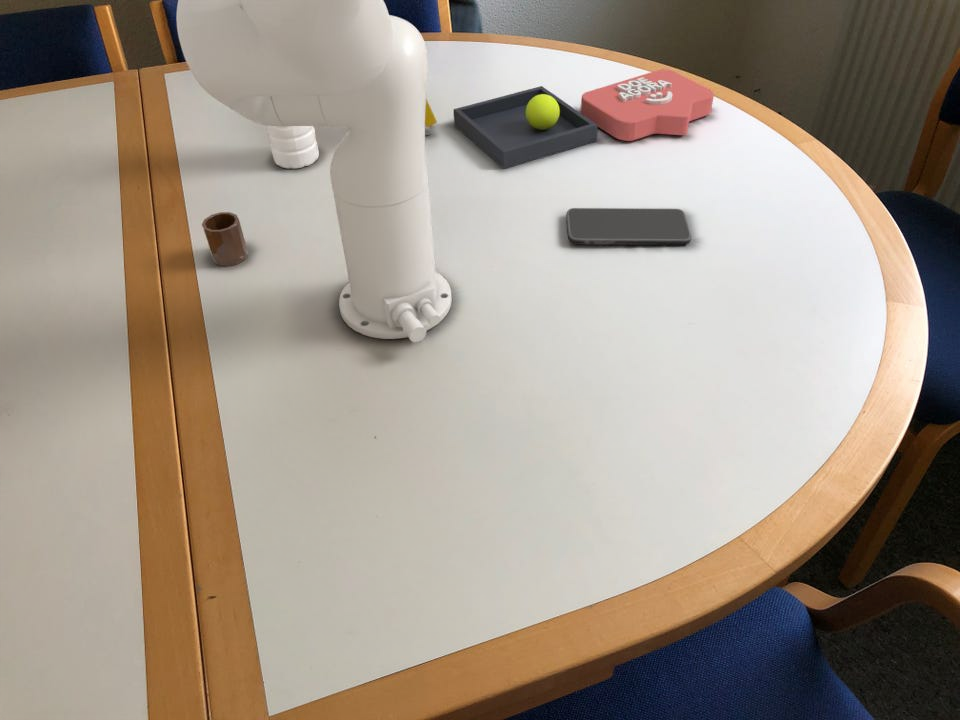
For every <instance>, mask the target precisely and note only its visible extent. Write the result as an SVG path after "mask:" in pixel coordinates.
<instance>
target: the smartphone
mask: <svg viewBox="0 0 960 720" xmlns="http://www.w3.org/2000/svg"><path fill="white" fill-rule="evenodd" d="M565 215H566V216H565V217H566V225H567V226H566V227H567V239H568V241H569V242H570V243H572V244H574V245H658V246H659V245H661V246H662V245H664V246H665V245H669V246H670V245H673V246H674V245H679V246H680V245H682V246H684V245H688V244H690V242H691V240H692V234H691V231H690V227H689V223H688V219H687V217H686V213H685V211H684V210H683V209H680V208H635V207H634V208H630V207H629V208H628V207H627V208H623V207H620V208H618V207H617V208H616V207H615V208H614V207H613V208H612V207H611V208H607V207H606V208H605V207H604V208H603V207H572V208H569V209H568V210H567V211H566V214H565Z"/></svg>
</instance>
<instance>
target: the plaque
mask: <svg viewBox="0 0 960 720" xmlns="http://www.w3.org/2000/svg"><path fill="white" fill-rule="evenodd" d="M714 97H715V92H714V91H713V90H712V89H711V88H708V87H706V86H704V85H702V84H700V83H699V82H696V81H694V80H692V79H690V78H688V77H686V76H684V75H682V74H680V73H678V72H677V71H674V70H671V69H657V70H654V71H651V72H648V73H643V74H641V75H638V76H634V77H631V78H628V79H625V80H621V81H618V82H614V83H611V84H608V85H605V86H601V87H598V88H595V89H592V90H588V91H586V92H584V93H583V94H582V95H581V101H580V113H581V114H583V115H584V116H585V117H587V118H588V119H590V120H591V121H593V122H594V123H596V124H597V125H598V128H599V129H600V130H602V131H604V132H605V133H607V134H609V135H610V136H612V137H614V138H616V139H618V140H620V141H625V142H632V141H635V140H639V139H642V138H645V137H648V136H651V135H654V134H657V135H658V134H659V135H673V136H685V135H687V134H688V132H689V125H690V122H692V121H694V120H698V119H700V118H704V117H706V116H709V115H710V114H711V113H712V109H713V108H712V107H713V102H714Z"/></svg>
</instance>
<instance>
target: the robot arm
mask: <svg viewBox="0 0 960 720" xmlns="http://www.w3.org/2000/svg"><path fill="white" fill-rule="evenodd" d="M176 29H177V37H178V41H179V44H180V48H181V51H182V54H183V58H184V60H185V63H186V64H187V66H188V69H189V70H190V72H191V74H192V76H193V77H194V79H195V80H196V82H197V83H198V85H199V86H200V87H201V88H202V89H203V90H204V91H205V92H206V93H207V94H208V95H209V96H210V97H212V98H214V99H215V100H216V101H218V102H219V103H221V104H222V105H224V106H226V107H227V108H228V109H230V110H232V111H234V112H235V113H237V114H238V115H240V116H242V117H243V118H245V119H247V120H248V121H250V122H253V123H256V124H259V125H263V126H266V125H267V126H313V127H331V128H345V129H347V131H346V133H345V135H344V136H343V137H342V138H341V140H340V142H339V143H338V145H337V147H336V148H335V150H334V152H333V155H332V157H331V161H330V168H329V175H330V183H331V189H332V193H333V199H334V205H335V210H336V216H337V221H338V227H339V233H340V237H341V243H342V249H343V254H344V260H345V261H344V262H345V264H346V271H347V277H348V283H346V284H345V285H344V287H343V289H342V290H341V292H340V295H339V298H338V299H339V300H338V307H339V311H340V315H341V318H342V320H343V321H344V322H345V323H346V325H347V326H348V327H349V328H351V329H352V330H353V331H355V332H357V333H359V334H361V335H363V336H367V337H371V338H375V339H382V340H398V339H405V338H408V339H409V340H410V341H411V342H412V343H420V342H422V340H424V339H425V338H426V336H427V331H429V330H430V329H433V328H434V327H436V326H437V325H439V324H440V323H441V322H442V321H443V320H444V319H445V317H446V316H447V315H448V314H449V311H450V309H451V307H452V301H453V299H452V298H453V297H452V289H451V286H450V284H449V282H448V281H447V279H446V278H445V277H444V276H443V275H442V274H441V273H439V272H437V271H436V263H435V262H436V259H435V250H434V249H435V248H434V247H435V246H434V236H433V226H432V211H431V202H430V200H431V199H430V191H429V188H430V187H429V178H428V165H427V154H426V153H427V152H426V135H425V108H426V99H427V93H428V80H429V79H428V78H429V59H428V50H427V45H426V42H425V40H424V37H423V36H422V34H421V32H420V31H419V29H417V27H416V26H414V25H413V24H412V23H411V22H409V21H408V20H406V19H404V18H402V17H398V16H397V15H396V16H395V15H391V14H389V10H388V8H387V5H386V2H385V1H384V0H177V5H176Z"/></svg>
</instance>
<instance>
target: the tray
mask: <svg viewBox="0 0 960 720" xmlns="http://www.w3.org/2000/svg"><path fill="white" fill-rule="evenodd" d="M540 94H546V95H549V96H551V97H553V98H554V99H555V100H556V101H557V103H558V105H559V109H560V114H559V118H558V120H557V122H556V123H555V124H554V125H553V126H552V127H551V128H548V129H545V130H540V129H536V128H534V127H533V126H531V125H530V123H529V122H528V120H527V118H526V107H527V104H528V103H529V101H530V100H531V99H532V98H533V97H535V96H537V95H540ZM453 126H455V128H457V129H458V130H459V131H460V132H461V133H462V134H463V135H465V137H467V138H468V139H469V140H470V141H472V142H473V143H474V144H475V145H476V146H477V147H478V148H479V149H481V151H483V152H484V153H485V154H486V155H487V156H488V157H490V158H491V159H492V160H493V161H494V162H495V163H496V164H497V165H499V166H500V167H501V168H502V169H503V170H504V169H505V170H506V169H508V168H511V167H515V166H519V165H521V164H525V163H528V162H531V161H535V160H538V159H542V158H545V157H549V156H552V155H556V154H558V153H559V154H560V153H563V152H565V151H566V152H567V151H569V150H572V149H577V148H578V147H579V148H580V147H582V146H585V145H590V144H592V143H595V142H597V140H598V138H597V137H598V128H599V127H598V125H597V124H596V123H594V122H593V121H591V120H590V119H588V118H587V117H585V116H584V115H583V114H581V111H578V109H575V108H574V107H572V106H571V105H570V104H569V103H567V102H565V100H562V99H561V98H559V96H557V95H555V94H554V93H553V92H551V91H549V90H548V89H547V88H545V86H542V85H541V86H537V87H533V88H529V89H525V90H521V91H518V92H514V93H510V94H506V95H502V96H498V97H495V98H491V99H486V100H483V101H479V102H476V103H471V104H469V105H464V106H460V107H457V108H454V109H453Z"/></svg>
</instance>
